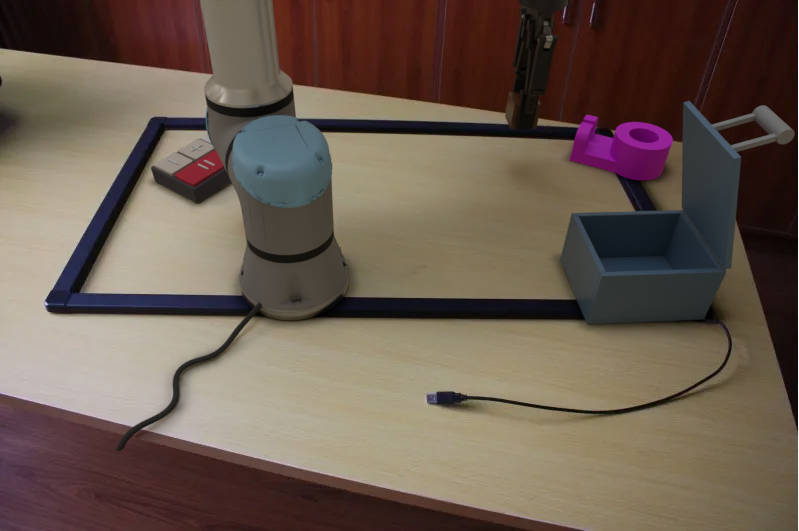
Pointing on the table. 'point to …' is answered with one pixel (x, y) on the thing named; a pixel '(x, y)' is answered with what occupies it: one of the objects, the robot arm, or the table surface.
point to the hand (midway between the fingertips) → (520, 120)
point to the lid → (719, 173)
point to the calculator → (192, 171)
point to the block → (517, 110)
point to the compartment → (639, 267)
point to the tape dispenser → (623, 149)
